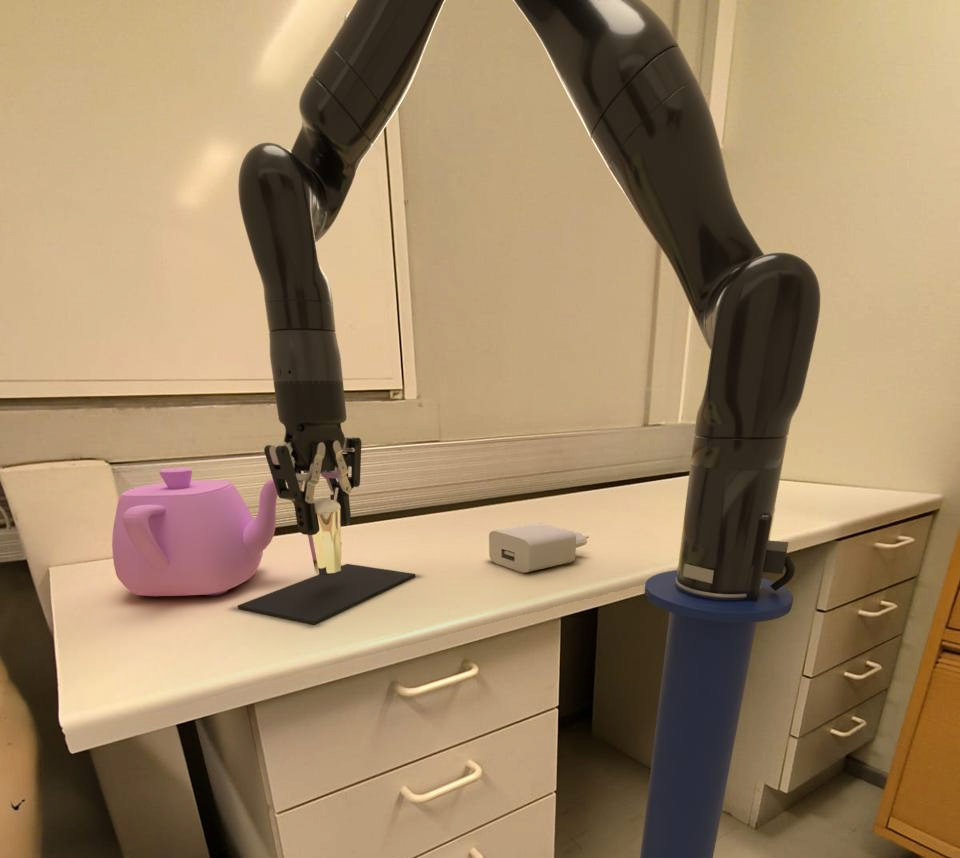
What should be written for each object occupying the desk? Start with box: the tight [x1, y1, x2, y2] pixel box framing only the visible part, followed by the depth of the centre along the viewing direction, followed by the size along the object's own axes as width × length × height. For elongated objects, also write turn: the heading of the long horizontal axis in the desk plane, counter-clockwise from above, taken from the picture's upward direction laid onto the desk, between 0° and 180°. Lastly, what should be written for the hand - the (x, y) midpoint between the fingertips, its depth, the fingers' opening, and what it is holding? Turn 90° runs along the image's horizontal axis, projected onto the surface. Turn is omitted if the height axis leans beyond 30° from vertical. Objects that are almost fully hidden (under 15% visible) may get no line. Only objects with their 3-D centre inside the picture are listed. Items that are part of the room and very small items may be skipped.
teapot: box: [111, 467, 287, 597], centre depth 74 cm, size 23×21×15 cm
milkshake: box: [307, 488, 343, 576], centre depth 72 cm, size 4×5×10 cm
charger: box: [488, 522, 590, 574], centre depth 87 cm, size 5×9×15 cm
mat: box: [237, 563, 416, 626], centre depth 75 cm, size 12×20×1 cm, turn 152°
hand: (326, 528), depth 72 cm, fingers closed on milkshake, 5 cm apart
